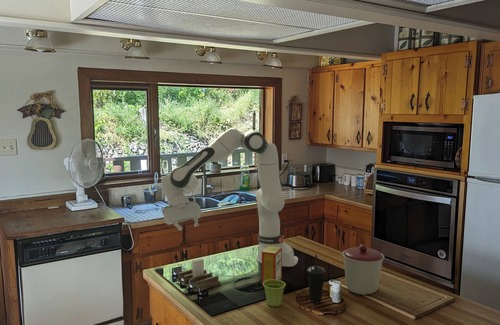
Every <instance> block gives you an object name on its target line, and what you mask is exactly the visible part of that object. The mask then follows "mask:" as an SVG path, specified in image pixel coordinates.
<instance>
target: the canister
mask: <svg viewBox="0 0 500 325" xmlns="http://www.w3.org/2000/svg"><path fill="white" fill-rule="evenodd" d="M341 255H342V257H343V264H344V277H345V284H346V287H347V289H348V290H349V291H350V292H352V293H354V294H357V295H362V296H368V295H367V294H369V295H373V294H374V292H375V293H376V292H377V290H378V289H379V284H380V281H381V280H380V278H381V274H382V266H383V261H384V260H385V256H384V254H383V253H382V252H380V251H379V250H376V249H373V248H371V247H368V246H367V245H366V244H362V243H361V244H359V246H355V247H349V248H347V249H345V250H343V251H342V254H341ZM372 293H373V294H372Z"/></svg>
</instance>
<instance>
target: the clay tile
mask: <svg viewBox="0 0 500 325" xmlns="http://www.w3.org/2000/svg"><path fill="white" fill-rule="evenodd" d="M204 262H205V260H204V258H202V257H200V258H197V259H193V260H192V265H191V266H192V268H191V269H192V272H193V278H194V277H197V276H200V275H204V270H205V263H204Z"/></svg>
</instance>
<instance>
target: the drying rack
mask: <svg viewBox="0 0 500 325" xmlns="http://www.w3.org/2000/svg"><path fill="white" fill-rule="evenodd" d="M177 276H178V277H177V279H176V280H175V282H176V281H178V282H181V280H180V279H181V278H182V277H184V282H181V283H182V284H184V285H185V286H187V287H189V285H188V283H187V282H188V281H189V280H190V284H192V283H194V282H195V283H196V288H192V289H193V290H194V291H195V292H197V291H198V289H199V288H201V287H207V288H210V289H212V288H211V287H213V288H215V287H214V286H216V287H218V285H219V286H221V283H222V281H219V275H217V274H216V275H213V272H212V271H210V272H208V273H207V269H204V275H200V276H197V277H194V278H193V272H192V268H191V269H190V268H189V269H186V270H184V271H181V272H177Z"/></svg>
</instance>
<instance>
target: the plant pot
mask: <svg viewBox="0 0 500 325" xmlns="http://www.w3.org/2000/svg"><path fill="white" fill-rule="evenodd" d="M262 286H263V288H264V293H265V300H266V305H267V306H268V307H272V308H273V307H279V306H281V305H282V302H283V301H282V300H283V295H284V290H285V287H286V286H287V285H286V283H285V282H284V281H283V280H282V279H281V280H266V281H264V282H263V284H262Z"/></svg>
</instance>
